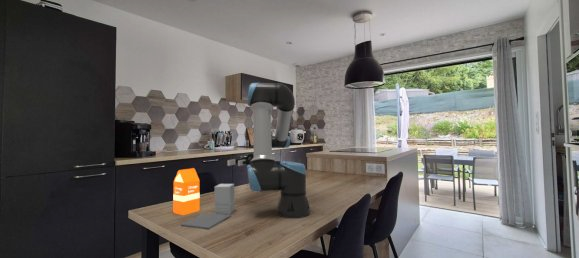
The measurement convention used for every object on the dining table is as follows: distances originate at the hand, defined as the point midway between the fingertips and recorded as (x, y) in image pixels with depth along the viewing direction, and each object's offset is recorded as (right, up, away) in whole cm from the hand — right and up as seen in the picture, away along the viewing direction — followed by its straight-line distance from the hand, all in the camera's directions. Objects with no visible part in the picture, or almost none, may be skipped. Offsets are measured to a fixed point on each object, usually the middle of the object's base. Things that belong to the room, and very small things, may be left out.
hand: (233, 163), depth 124 cm
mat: (-6, -21, -21) cm, 30 cm away
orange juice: (-21, -22, -7) cm, 31 cm away
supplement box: (-2, -22, -8) cm, 24 cm away
